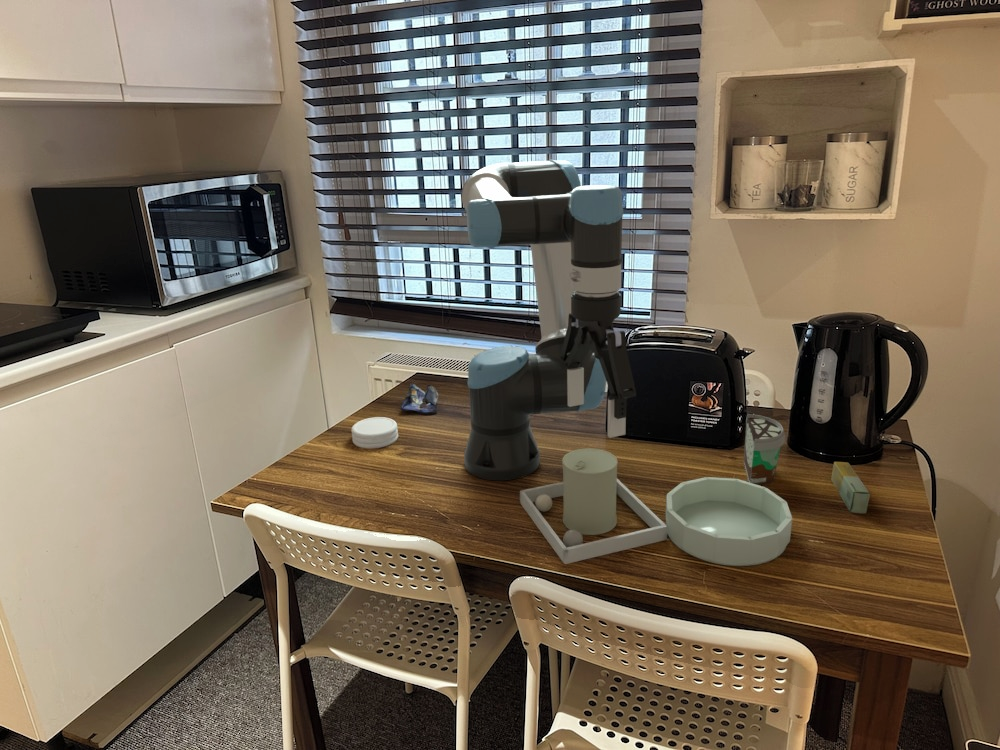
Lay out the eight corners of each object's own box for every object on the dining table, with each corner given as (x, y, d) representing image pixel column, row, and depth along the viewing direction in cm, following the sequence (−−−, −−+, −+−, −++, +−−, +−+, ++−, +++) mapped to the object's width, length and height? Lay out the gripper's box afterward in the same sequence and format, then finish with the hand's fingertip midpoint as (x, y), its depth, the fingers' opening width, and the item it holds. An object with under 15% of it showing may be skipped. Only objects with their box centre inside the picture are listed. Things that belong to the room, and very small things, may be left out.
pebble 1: (532, 508, 125) (532, 493, 124) (548, 504, 126) (548, 489, 125) (539, 516, 123) (538, 501, 122) (555, 512, 124) (554, 497, 123)
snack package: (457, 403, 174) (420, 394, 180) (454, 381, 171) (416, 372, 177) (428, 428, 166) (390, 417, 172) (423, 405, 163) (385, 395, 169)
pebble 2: (559, 545, 114) (559, 528, 113) (578, 540, 115) (577, 523, 114) (567, 555, 111) (567, 538, 110) (586, 551, 112) (586, 534, 111)
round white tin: (345, 438, 157) (343, 424, 155) (385, 426, 162) (383, 412, 161) (365, 454, 149) (363, 439, 148) (406, 440, 155) (405, 426, 153)
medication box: (867, 514, 119) (871, 493, 118) (850, 513, 120) (854, 492, 118) (845, 480, 131) (848, 461, 129) (829, 479, 131) (832, 460, 130)
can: (551, 522, 121) (550, 459, 117) (583, 501, 127) (583, 440, 123) (596, 542, 115) (596, 476, 111) (627, 518, 121) (629, 455, 117)
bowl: (644, 514, 122) (645, 490, 120) (738, 493, 127) (740, 469, 126) (708, 577, 105) (710, 550, 103) (814, 550, 110) (817, 523, 109)
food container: (786, 492, 127) (792, 441, 124) (750, 490, 128) (755, 440, 125) (775, 461, 138) (780, 414, 135) (742, 459, 140) (746, 412, 136)
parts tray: (520, 502, 127) (519, 490, 126) (610, 483, 132) (610, 472, 132) (564, 564, 109) (564, 550, 109) (666, 539, 115) (667, 526, 114)
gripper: (539, 278, 117) (541, 397, 124) (616, 313, 95) (613, 455, 102) (579, 273, 119) (579, 390, 127) (663, 306, 98) (658, 445, 105)
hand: (595, 419), depth 115 cm, fingers open, 13 cm apart
